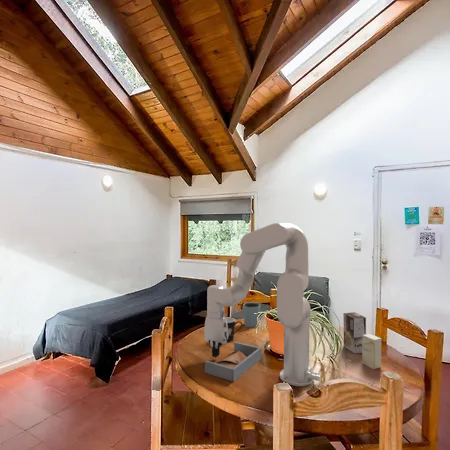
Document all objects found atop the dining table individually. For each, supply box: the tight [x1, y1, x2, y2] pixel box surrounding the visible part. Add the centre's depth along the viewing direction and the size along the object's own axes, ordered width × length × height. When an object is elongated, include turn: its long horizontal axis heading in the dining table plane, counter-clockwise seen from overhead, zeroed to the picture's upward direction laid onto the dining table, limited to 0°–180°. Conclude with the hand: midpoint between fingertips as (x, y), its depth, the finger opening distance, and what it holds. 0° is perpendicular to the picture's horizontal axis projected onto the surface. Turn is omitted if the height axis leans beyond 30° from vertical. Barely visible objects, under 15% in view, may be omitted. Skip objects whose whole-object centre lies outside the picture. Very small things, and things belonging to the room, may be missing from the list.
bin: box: [204, 341, 263, 382], centre depth 129 cm, size 14×24×4 cm, turn 148°
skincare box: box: [361, 333, 382, 370], centre depth 129 cm, size 6×4×12 cm
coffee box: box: [343, 311, 367, 354], centre depth 145 cm, size 9×6×16 cm
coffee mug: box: [226, 316, 243, 343], centre depth 158 cm, size 12×9×10 cm
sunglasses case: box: [216, 350, 248, 368], centre depth 129 cm, size 18×7×7 cm
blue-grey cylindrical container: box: [242, 301, 261, 328], centre depth 180 cm, size 10×10×12 cm
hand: (215, 355), depth 135 cm, fingers closed
